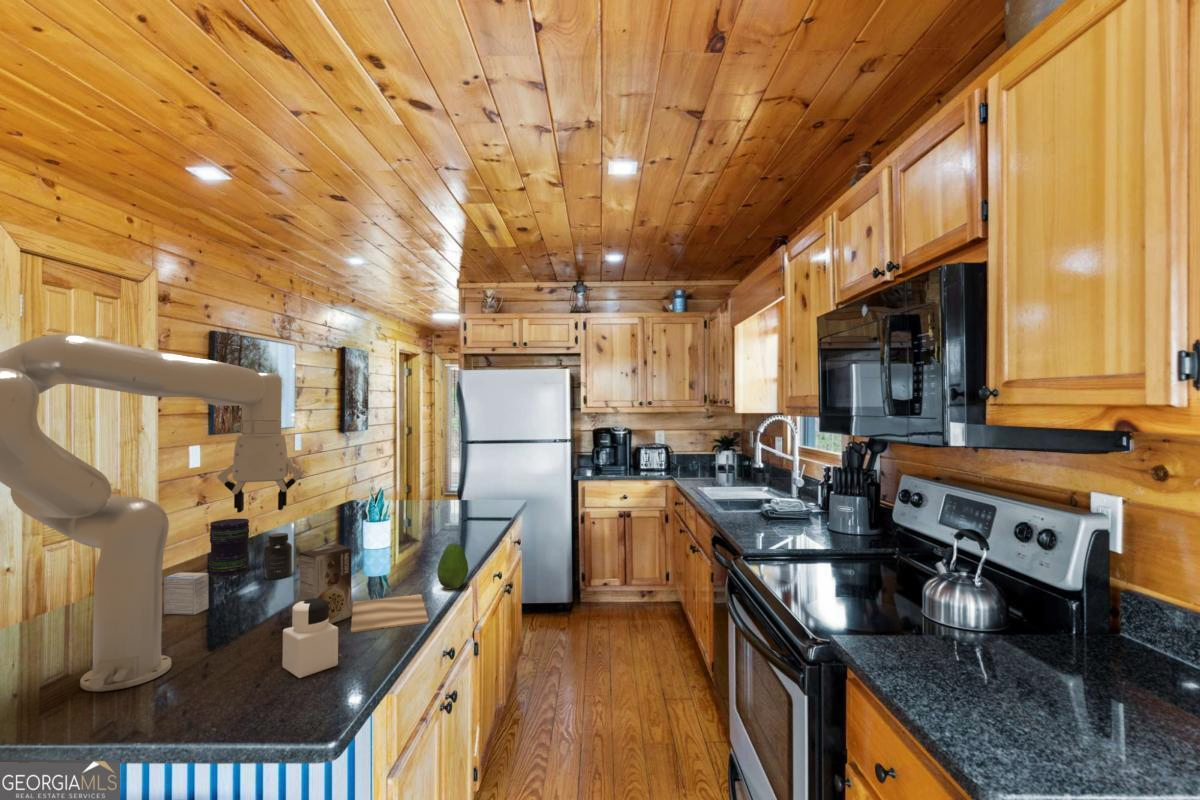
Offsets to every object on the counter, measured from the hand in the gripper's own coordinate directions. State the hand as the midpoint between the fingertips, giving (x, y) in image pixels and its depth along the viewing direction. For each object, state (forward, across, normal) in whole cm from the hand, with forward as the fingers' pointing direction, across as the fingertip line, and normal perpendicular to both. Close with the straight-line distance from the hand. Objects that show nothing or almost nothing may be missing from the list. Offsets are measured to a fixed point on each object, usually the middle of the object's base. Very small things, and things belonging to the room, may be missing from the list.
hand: (260, 509), depth 126 cm
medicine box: (+26, -18, +19) cm, 37 cm away
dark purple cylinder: (+26, -16, +54) cm, 62 cm away
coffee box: (+26, +13, 0) cm, 29 cm away
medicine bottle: (+26, +12, -25) cm, 38 cm away
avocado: (+26, +43, +14) cm, 52 cm away
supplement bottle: (+26, -2, +44) cm, 51 cm away
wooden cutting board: (+26, +26, 0) cm, 37 cm away
